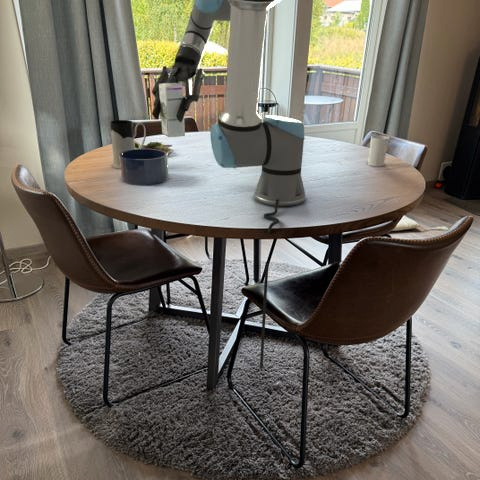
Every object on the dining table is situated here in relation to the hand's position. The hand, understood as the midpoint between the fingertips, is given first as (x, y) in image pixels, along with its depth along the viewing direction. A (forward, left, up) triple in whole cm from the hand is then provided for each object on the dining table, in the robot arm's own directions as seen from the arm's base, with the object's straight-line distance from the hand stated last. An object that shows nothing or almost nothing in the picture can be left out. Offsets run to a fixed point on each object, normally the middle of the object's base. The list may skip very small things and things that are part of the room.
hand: (166, 117), depth 149 cm
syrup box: (+3, -1, -6) cm, 7 cm away
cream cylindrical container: (+30, -76, -21) cm, 85 cm away
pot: (+8, +9, -21) cm, 24 cm away
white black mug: (+26, +16, -21) cm, 37 cm away
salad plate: (+43, +12, -21) cm, 50 cm away
